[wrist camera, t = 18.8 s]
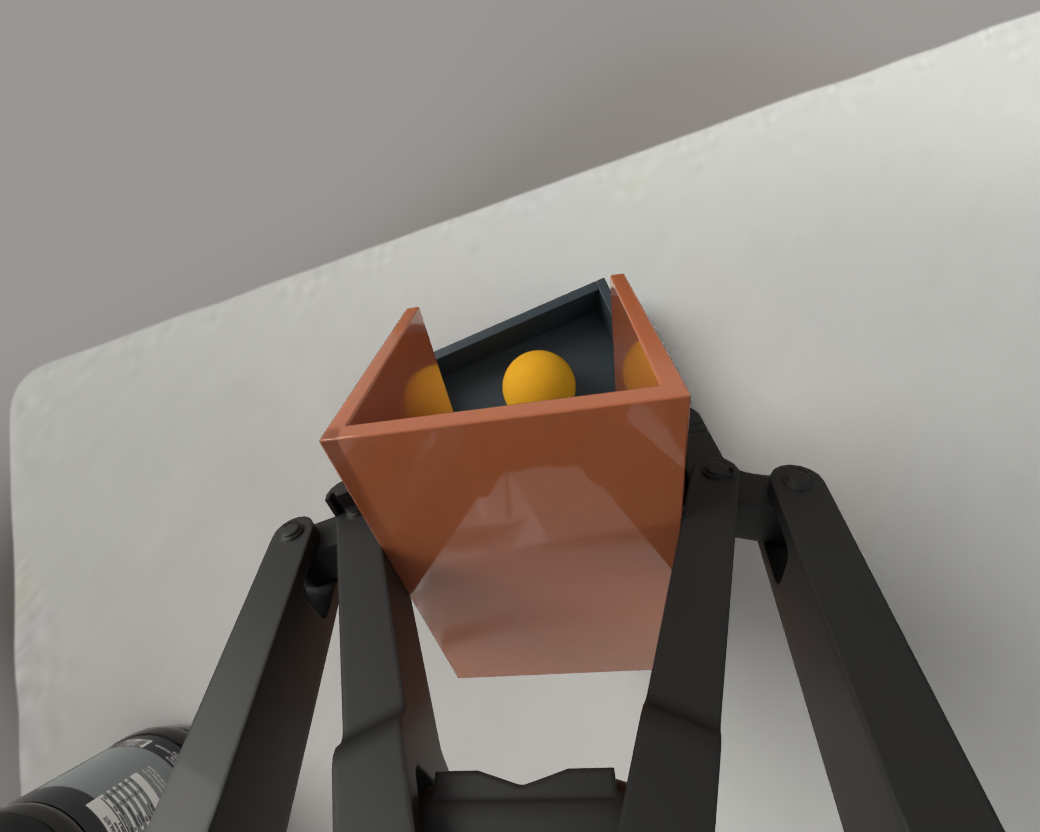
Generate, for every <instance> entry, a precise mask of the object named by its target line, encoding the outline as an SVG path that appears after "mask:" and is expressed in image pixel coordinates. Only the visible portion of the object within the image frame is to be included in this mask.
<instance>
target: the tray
mask: <svg viewBox="0 0 1040 832" xmlns="http://www.w3.org/2000/svg"><path fill="white" fill-rule="evenodd" d="M535 350H544V351H548V352H552V353H554V354H556V355H558V356H560V357H561V358H562V359H564V360H565V361H566V362H567V364H568V365H569V366H570V368H571V370H572V372H573V374H574V377H575V383H576V390H575V396H574V397H576V396H584V395H592V394H600V393H607V392H615V391H616V388H615V368H614V347H613V327H612V307H611V291H610V289H609V287H608V285H607V283H606V281H605V279H604V278H602V279H600V280H598V281H596V283H595V282H593V283H591V284H589V285H586V286H584V287H582V288H579V289H577V290H575V291H572V292H570V293H568V294H566V295H563V296H561V297H559V298H556V299H554V300H552V301H550V302H547V303H545V304H543V305H540V306H538V307H536V308H533V309H531V310H529V311H527V312H524V313H522V314H520V315H517V316H515V317H513V318H511V319H508V320H506V321H504V322H501V323H499V324H497V325H495V326H492V327H490V328H488V329H485V330H483V331H481V332H478V333H476V334H474V335H472V336H469V337H467V338H465V339H462V340H460V341H458V342H456V343H453V344H451V345H449V346H446V347H444V348H442V349H439V350H437V351H435V352H434V355H435V358H436V361H437V364H438V367H439V370H440V373H441V376H442V379H443V382H444V385H445V388H446V391H447V394H448V397H449V400H450V403H451V406H452V410H453V412H459V411H466V410H474V409H482V408H490V407H498V406H506V405H507V403H506V401H505V399H504V395H503V379H504V375H505V373H506V371H507V369H508V367H509V366H510V364H511V363H512V362H513V361H514V360H515V359H516V358H517V357H519V356H520V355H522V354H524V353H527V352H530V351H535Z"/></svg>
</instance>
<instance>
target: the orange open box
mask: <svg viewBox="0 0 1040 832" xmlns="http://www.w3.org/2000/svg"><path fill="white" fill-rule="evenodd" d="M610 286H611V307H612V327H613V347H614V368H615V388H616V391H615V392H607V393H600V394H592V395H584V396H576V397H568V398H560V399H553V400H545V401H537V402H529V403H521V404H513V405H506V406H498V407H490V408H482V409H474V410H466V411H459V412H453V410H452V406H451V403H450V400H449V397H448V394H447V391H446V388H445V385H444V382H443V379H442V376H441V373H440V370H439V367H438V364H437V361H436V358H435V355H434V352H433V349H432V346H431V343H430V340H429V336H428V333H427V330H426V327H425V324H424V321H423V318H422V315H421V312H420V309H419V307H415V308H408V309H406V311H405V312H404V314H403V315H402V317H401V318H400V320H399V321H398V323H397V324H396V326H395V327H394V329H393V330H392V332H391V333H390V335H389V336H388V338H387V339H386V341H385V342H384V344H383V345H382V347H381V348H380V350H379V351H378V353H377V354H376V356H375V357H374V359H373V360H372V362H371V363H370V365H369V366H368V368H367V369H366V371H365V372H364V374H363V375H362V377H361V378H360V380H359V381H358V383H357V384H356V386H355V387H354V389H353V390H352V392H351V393H350V395H349V396H348V398H347V399H346V401H345V402H344V404H343V405H342V407H341V408H340V410H339V411H338V413H337V414H336V416H335V417H334V419H333V420H332V422H331V423H330V425H329V426H328V428H327V429H326V431H325V432H324V434H323V435H322V437H321V438H320V440H319V442H320V444H321V446H322V447H323V449H324V451H325V452H326V454H327V456H328V458H329V459H330V461H331V463H332V464H333V466H334V468H335V470H336V471H337V473H338V475H339V476H340V478H341V480H342V481H343V483H344V485H345V487H346V488H347V490H348V492H349V493H350V495H351V497H352V498H353V500H354V502H355V504H356V505H357V507H358V509H359V510H360V512H361V514H362V515H363V517H364V519H365V521H366V522H367V524H368V526H369V527H370V529H371V531H372V532H373V534H374V536H375V538H376V539H377V541H378V543H379V544H380V546H381V547H382V548H383V550H384V552H385V553H386V555H387V557H388V558H389V560H390V562H391V563H392V565H393V567H394V569H395V570H396V572H397V574H398V575H399V577H400V579H401V580H402V582H403V584H404V586H405V587H406V589H407V591H408V592H409V594H410V596H411V599H412V601H413V602H414V604H415V606H416V607H417V609H418V611H419V612H420V614H421V616H422V618H423V619H424V621H425V623H426V624H427V626H428V628H429V629H430V631H431V633H432V635H433V636H434V638H435V640H436V641H437V643H438V645H439V646H440V648H441V650H442V652H443V653H444V655H445V657H446V658H447V660H448V662H449V663H450V665H451V667H452V669H453V670H454V672H455V674H456V675H457V677H458V678H471V677H494V676H517V675H540V674H563V673H586V672H608V671H631V670H652V668H653V663H654V657H655V652H656V647H657V642H658V637H659V632H660V627H661V622H662V617H663V612H664V607H665V602H666V597H667V592H668V587H669V581H670V576H671V571H672V566H673V561H674V556H675V551H676V546H677V541H678V536H679V531H680V526H681V521H682V509H683V495H684V482H685V469H686V456H687V443H688V430H689V417H690V403H691V394H690V392H689V390H688V389H687V387H686V385H685V383H684V381H683V380H682V378H681V376H680V374H679V372H678V371H677V369H676V367H675V365H674V363H673V362H672V360H671V358H670V356H669V354H668V352H667V351H666V349H665V347H664V345H663V343H662V342H661V340H660V338H659V336H658V334H657V333H656V331H655V329H654V327H653V325H652V324H651V322H650V320H649V318H648V316H647V315H646V313H645V311H644V309H643V307H642V306H641V304H640V302H639V300H638V298H637V296H636V295H635V293H634V291H633V289H632V287H631V286H630V284H629V282H628V280H627V278H626V277H625V275H624V274H617V275H612V276H610Z"/></svg>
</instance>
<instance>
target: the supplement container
mask: <svg viewBox="0 0 1040 832" xmlns="http://www.w3.org/2000/svg"><path fill="white" fill-rule="evenodd" d="M187 734H188V732H187V731H185V730H182V729H179V728H174V727H153V728H148V729H144V730H141V731H138V732H136V733H133V734H131V735H129V736H127V737H125V738H123V739H122V740H120V741H118V742H116V743H115V744H114V745H112V746H111V747H110V748H108V749H106V750H105V751H103V752H101V753H99V754H97V755H96V756H94V757H92V758H90V759H89V760H87V761H85V762H83V763H81V764H80V765H78V766H76V767H74V768H72V769H71V770H69V771H67V772H65V773H63V774H62V775H60V776H58V777H56V778H55V779H53V780H51V781H49V782H47V783H46V784H44V785H42V786H40V787H38V788H37V789H35V790H33V791H31V792H30V793H28V794H26V795H24V796H22V797H21V798H19V799H17V800H15V801H13V802H12V803H10V804H8V805H6V806H3V807H0V832H145V831H146V829H147V827H148V825H149V822H150V820H151V818H152V815H153V813H154V811H155V808H156V806H157V804H158V801H159V799H160V797H161V794H162V792H163V790H164V787H165V785H166V783H167V781H168V778H169V776H170V774H171V771H172V769H173V767H174V764H175V762H176V760H177V757H178V755H179V753H180V750H181V748H182V746H183V743H184V741H185V739H186V736H187Z"/></svg>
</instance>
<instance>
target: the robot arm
mask: <svg viewBox="0 0 1040 832" xmlns="http://www.w3.org/2000/svg"><path fill="white" fill-rule="evenodd" d="M325 501H326V502H327V504H328V506H329V507H330V509H331V510H332V512H333V513H334V515H335V517H333V518H331V519H328V520H325V521H322V522H319V523H317V524H314V523H313V522H312V520H311V519H310V518H308V517H297V518H295V519H292V520H290V521H288V522H286V523H285V524H283V525H282V526H281V527H280V528H279V529H278V530H277V531H276V532H275V534H274V536H273V537H272V540H271V542H270V544H269V547H268V549H267V551H266V554H265V556H264V558H263V560H262V563H261V565H260V567H259V570H258V572H257V574H256V577H255V579H254V581H253V584H252V586H251V588H250V591H249V593H248V595H247V598H246V600H245V602H244V604H243V607H242V609H241V611H240V614H239V616H238V618H237V621H236V623H235V625H234V628H233V630H232V632H231V635H230V637H229V639H228V642H227V644H226V646H225V648H224V651H223V653H222V655H221V658H220V660H219V662H218V665H217V667H216V669H215V672H214V674H213V676H212V679H211V681H210V683H209V686H208V688H207V690H206V692H205V695H204V697H203V699H202V702H201V704H200V706H199V709H198V711H197V713H196V716H195V718H194V720H193V723H192V725H191V727H190V730H189V732H188V734H187V736H186V739H185V741H184V743H183V746H182V748H181V750H180V753H179V755H178V757H177V760H176V762H175V764H174V767H173V769H172V771H171V774H170V776H169V778H168V781H167V783H166V785H165V787H164V790H163V792H162V794H161V797H160V799H159V801H158V804H157V806H156V808H155V811H154V813H153V815H152V818H151V820H150V822H149V825H148V827H147V829H146V831H145V832H286V830H287V826H288V822H289V817H290V813H291V809H292V804H293V800H294V796H295V791H296V787H297V782H298V778H299V774H300V769H301V765H302V761H303V756H304V752H305V748H306V743H307V739H308V735H309V730H310V726H311V722H312V717H313V713H314V709H315V704H316V700H317V695H318V691H319V687H320V682H321V678H322V674H323V669H324V665H325V661H326V656H327V652H328V648H329V643H330V639H331V635H332V630H333V626H334V622H335V617H336V613H337V609H338V604H339V625H340V656H341V687H342V718H343V738H342V742H341V743H340V744H339V745H338V746H337V747H336V748H335V751H334V755H333V763H332V802H333V832H715V824H716V811H717V797H718V784H719V770H720V756H721V731H720V730H721V712H722V699H723V686H724V673H725V660H726V648H727V635H728V622H729V609H730V596H731V583H732V570H733V557H734V544H735V537H737V538H743V539H749V540H755V541H758V544H759V547H760V550H761V554H762V557H763V561H764V564H765V567H766V571H767V574H768V577H769V581H770V584H771V587H772V591H773V594H774V598H775V601H776V604H777V608H778V611H779V614H780V618H781V621H782V624H783V628H784V631H785V635H786V638H787V641H788V645H789V648H790V651H791V655H792V658H793V661H794V665H795V668H796V671H797V675H798V678H799V682H800V685H801V688H802V692H803V695H804V698H805V702H806V705H807V708H808V712H809V715H810V719H811V722H812V725H813V729H814V732H815V735H816V739H817V742H818V745H819V749H820V752H821V756H822V759H823V762H824V766H825V769H826V772H827V776H828V779H829V782H830V786H831V789H832V792H833V796H834V799H835V803H836V806H837V809H838V813H839V816H840V819H841V823H842V826H843V829H844V832H1005V831H1004V829H1003V827H1002V825H1001V823H1000V821H999V819H998V817H997V815H996V813H995V811H994V809H993V807H992V805H991V803H990V801H989V800H988V798H987V796H986V794H985V792H984V790H983V788H982V786H981V784H980V782H979V780H978V778H977V776H976V774H975V772H974V770H973V769H972V767H971V765H970V763H969V761H968V759H967V757H966V755H965V753H964V751H963V749H962V747H961V745H960V743H959V741H958V739H957V738H956V736H955V734H954V732H953V730H952V728H951V726H950V724H949V722H948V720H947V718H946V716H945V714H944V712H943V710H942V708H941V707H940V705H939V703H938V701H937V699H936V697H935V695H934V693H933V691H932V689H931V687H930V685H929V683H928V681H927V679H926V677H925V676H924V674H923V672H922V670H921V668H920V666H919V664H918V662H917V660H916V658H915V656H914V654H913V652H912V650H911V648H910V646H909V645H908V643H907V641H906V639H905V637H904V635H903V633H902V631H901V629H900V627H899V625H898V623H897V621H896V619H895V617H894V615H893V614H892V612H891V610H890V608H889V606H888V604H887V602H886V600H885V598H884V596H883V594H882V592H881V590H880V588H879V586H878V584H877V583H876V581H875V579H874V577H873V575H872V573H871V571H870V569H869V567H868V565H867V563H866V561H865V559H864V557H863V555H862V553H861V551H860V550H859V548H858V546H857V544H856V542H855V540H854V538H853V536H852V534H851V532H850V530H849V528H848V526H847V524H846V522H845V520H844V519H843V517H842V515H841V513H840V511H839V509H838V507H837V505H836V503H835V501H834V499H833V497H832V495H831V493H830V491H829V489H828V488H827V486H826V484H825V482H824V480H823V479H822V478H821V477H820V476H819V475H818V474H817V473H815V472H814V471H812V470H810V469H808V468H805V467H802V466H796V465H784V466H780V467H778V468H776V469H774V470H773V472H772V473H771V475H770V476H767V475H759V474H751V473H746V472H743V471H740V470H738V468H737V467H736V466H735V465H734V464H733V463H732V462H730V461H728V460H726V459H724V458H723V457H722V455H721V453H720V451H719V449H718V447H717V446H716V444H715V442H714V440H713V438H712V437H711V435H710V433H709V432H708V429H707V428H706V426H705V424H704V422H703V420H702V419H701V417H700V415H699V413H698V412H696V411H695V410H694V409H692V408H691V407H690V417H689V430H688V443H687V456H686V469H685V482H684V495H683V507H684V511H683V509H682V521H681V526H680V531H679V536H678V541H677V546H676V551H675V556H674V561H673V566H672V571H671V576H670V581H669V587H668V592H667V597H666V602H665V607H664V612H663V617H662V622H661V627H660V632H659V637H658V642H657V647H656V652H655V657H654V663H653V668H652V673H651V678H650V683H649V688H648V693H647V697H646V700H645V702H644V705H643V708H642V712H641V717H640V721H639V726H638V731H637V736H636V741H635V746H634V751H633V756H632V761H631V766H630V771H629V776H628V781H627V782H624V781H621V780H618V779H615V771H614V768H576V769H566V770H564V771H561V772H558V773H555V774H553V775H550V776H547V777H545V778H542V779H539V780H537V781H534V782H531V783H528V784H525V785H519V784H515V783H512V782H509V781H507V780H504V779H501V778H498V777H495V776H492V775H489V774H486V773H483V772H480V771H449V770H448V767H447V765H446V762H445V760H444V757H443V755H442V751H441V748H440V743H439V738H438V733H437V728H436V723H435V718H434V713H433V708H432V703H431V698H430V693H429V688H428V683H427V678H426V673H425V667H424V662H423V657H422V652H421V647H420V642H419V637H418V632H417V627H416V622H415V617H414V612H413V607H412V602H411V596H410V594H409V592H408V591H407V589H406V587H405V586H404V584H403V582H402V580H401V579H400V577H399V575H398V574H397V572H396V570H395V569H394V567H393V565H392V563H391V562H390V560H389V558H388V557H387V555H386V553H385V552H384V550H383V548H382V547H381V546H380V544H379V543H378V541H377V539H376V538H375V536H374V534H373V532H372V531H371V529H370V527H369V526H368V524H367V522H366V521H365V519H364V517H363V515H362V514H361V512H360V510H359V509H358V507H357V505H356V504H355V502H354V500H353V498H352V497H351V495H350V493H349V492H348V490H347V488H346V487H345V485H344V483H343V481H342V482H340V483H338V484H336V485H335V486H334V487H333V488H332V489H331V490H330V491H329V492H328V494H327V495H326V499H325ZM616 785H617V786H616Z"/></svg>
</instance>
